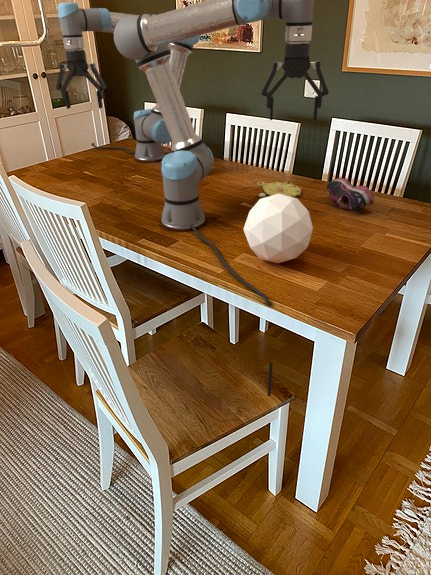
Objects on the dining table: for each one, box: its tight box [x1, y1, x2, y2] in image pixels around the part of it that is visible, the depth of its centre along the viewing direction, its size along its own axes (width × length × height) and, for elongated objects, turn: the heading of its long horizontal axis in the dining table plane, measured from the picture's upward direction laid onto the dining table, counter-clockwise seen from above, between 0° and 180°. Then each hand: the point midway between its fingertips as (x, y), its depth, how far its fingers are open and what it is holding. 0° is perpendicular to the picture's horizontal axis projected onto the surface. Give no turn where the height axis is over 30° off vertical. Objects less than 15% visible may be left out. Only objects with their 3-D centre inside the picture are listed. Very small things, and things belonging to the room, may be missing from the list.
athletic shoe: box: [325, 177, 375, 211], centre depth 162 cm, size 11×22×12 cm
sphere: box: [242, 194, 314, 264], centre depth 127 cm, size 19×20×20 cm
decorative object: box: [256, 180, 302, 198], centre depth 178 cm, size 21×2×20 cm
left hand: (84, 108), depth 183 cm, fingers open, 13 cm apart
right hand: (292, 119), depth 140 cm, fingers open, 13 cm apart
